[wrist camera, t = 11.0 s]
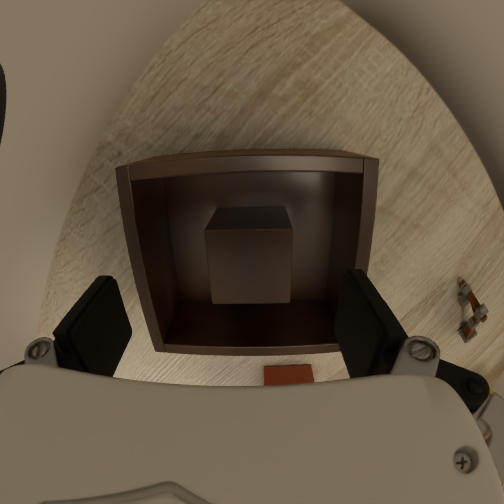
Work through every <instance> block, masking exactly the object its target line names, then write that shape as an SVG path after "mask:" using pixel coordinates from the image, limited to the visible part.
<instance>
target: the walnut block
mask: <svg viewBox="0 0 504 504" xmlns="http://www.w3.org/2000/svg"><path fill="white" fill-rule="evenodd" d="M204 233H205V244H206V254H207V263H208V272H209V281H210V289H211V298H212V303H213V304H265V303H290V299H291V276H292V247H293V228H292V225H291V222H290V219H289V216H288V214H287V211H286V208H285V206H270V207H229V208H217V209H216V210H215V212H214V214H213V216H212V218H211V219H210V221H209V223H208V225H207V227H206V228H205V230H204Z"/></svg>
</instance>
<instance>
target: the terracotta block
mask: <svg viewBox="0 0 504 504" xmlns="http://www.w3.org/2000/svg"><path fill="white" fill-rule="evenodd" d="M302 383H314V378H313V373H312V367H311V365H295V366H265V367H264V386H270V385H289V384H302Z"/></svg>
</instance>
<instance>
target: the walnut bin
mask: <svg viewBox="0 0 504 504" xmlns="http://www.w3.org/2000/svg"><path fill="white" fill-rule="evenodd" d="M378 168H379V159H377V158H373V157H369V156H365V155H361V154H356V153H352V152H347V151H337V150H315V149H247V150H224V151H208V152H195V153H184V154H174V155H165V156H156V157H152V158H148V159H144V160H140V161H136V162H132V163H129V164H125V165H122V166H118V167H116V168H115V170H116V179H117V187H118V194H119V201H120V208H121V214H122V220H123V226H124V232H125V237H126V242H127V247H128V252H129V257H130V261H131V266H132V270H133V275H134V279H135V283H136V287H137V291H138V295H139V299H140V302H141V306H142V310H143V313H144V317H145V320H146V324H147V327H148V330H149V334H150V337H151V340H152V343H153V346H154V349H155V351H156V352H167V353H180V354H196V355H223V356H272V355H299V354H316V353H330V352H338V351H339V352H341V350H340V347H339V344H338V341H337V339H336V336H335V333H334V324H335V319H336V313H337V307H338V301H339V294H340V288H341V281H342V275H343V273H346V272H347V270H349V269H362V270H363V271H364V273H365V274H366V275H367V270H368V264H369V258H370V251H371V244H372V236H373V228H374V219H375V209H376V198H377V185H378ZM270 206H285V208H286V211H287V214H288V216H289V219H290V222H291V225H292V228H293V247H292V276H291V299H290V303H265V304H213V303H212V298H211V289H210V281H209V272H208V263H207V254H206V244H205V233H204V230H205V228H206V227H207V225H208V223H209V221H210V219H211V218H212V216H213V214H214V212H215V210H216V209H217V208H229V207H270Z"/></svg>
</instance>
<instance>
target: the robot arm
mask: <svg viewBox="0 0 504 504" xmlns="http://www.w3.org/2000/svg"><path fill="white" fill-rule="evenodd" d="M334 333H335V336H336V339H337V341H338V344H339V347H340V350H341V353H342V355H343V358H344V361H345V364H346V367H347V370H348V373H349V376H350V379H342V380H334V381H325V382H314V383H302V384H289V385H270V386H200V385H181V384H168V383H156V382H146V381H137V380H129V379H122V378H115V377H113V375H114V373H115V370H116V368H117V366H118V364H119V362H120V359H121V357H122V355H123V353H124V351H125V349H126V347H127V344H128V342H129V340H130V338H131V336H132V328H131V325H130V322H129V319H128V316H127V313H126V310H125V307H124V304H123V301H122V297H121V294H120V291H119V287H118V284H117V281H116V280H115V279H113V277H112V276H98V277H97V278H96V279H95V281H94V282H93V283H92V284H91V285H90V286H89V288H88V289H87V290H86V291H85V292H84V294H83V295H82V296H81V297H80V298H79V300H78V301H77V302H76V303H75V304H74V306H73V307H72V308H71V309H70V311H69V312H68V313H67V314H66V316H65V317H64V318H63V319H62V321H61V322H60V323H59V325H58V326H57V327H56V329H55V330H54V331H53V335H54V337H55V340H54V341H53V340H51V339H50V338H47V337H42V338H38V339H36V340H34V341H33V342H31V343H30V344H29V345H28V347H27V348H26V350H25V354H24V358H25V360H24V361H21V362H19V363H17V364H15V365H12V366H10V367H8V368H6V369H4V370H2V371H0V504H504V492H503V488H502V485H503V483H504V399H503V398H502V397H501V396H499V395H498V394H497V393H495V392H494V393H493V394H490V388H489V385H488V383H487V381H486V380H485V379H484V378H483V377H482V376H481V375H479V374H477V373H475V372H472V371H469V370H467V369H464V368H462V367H459V366H457V365H454V364H452V363H449V362H446V361H444V360H441V359H440V350H439V347H438V346H437V344H436V343H435V342H433V341H432V340H431V339H429V338H426V337H423V336H412V337H408V335H407V334H406V332H405V331H404V329H403V328H402V326H401V325H400V323H399V321H398V320H397V318H396V317H395V315H394V314H393V312H392V311H391V309H390V308H389V306H388V305H387V303H386V302H385V301H384V300H383V298H382V297H381V295H380V294H379V293H378V291H377V290H376V288H375V287H374V285H373V284H372V283H371V281H370V280H369V278H368V277H367V275H366V274H365V273H364V271H363V270H362V269H349V270H347V272H346V273H343V275H342V281H341V288H340V294H339V301H338V307H337V313H336V319H335V324H334Z"/></svg>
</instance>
